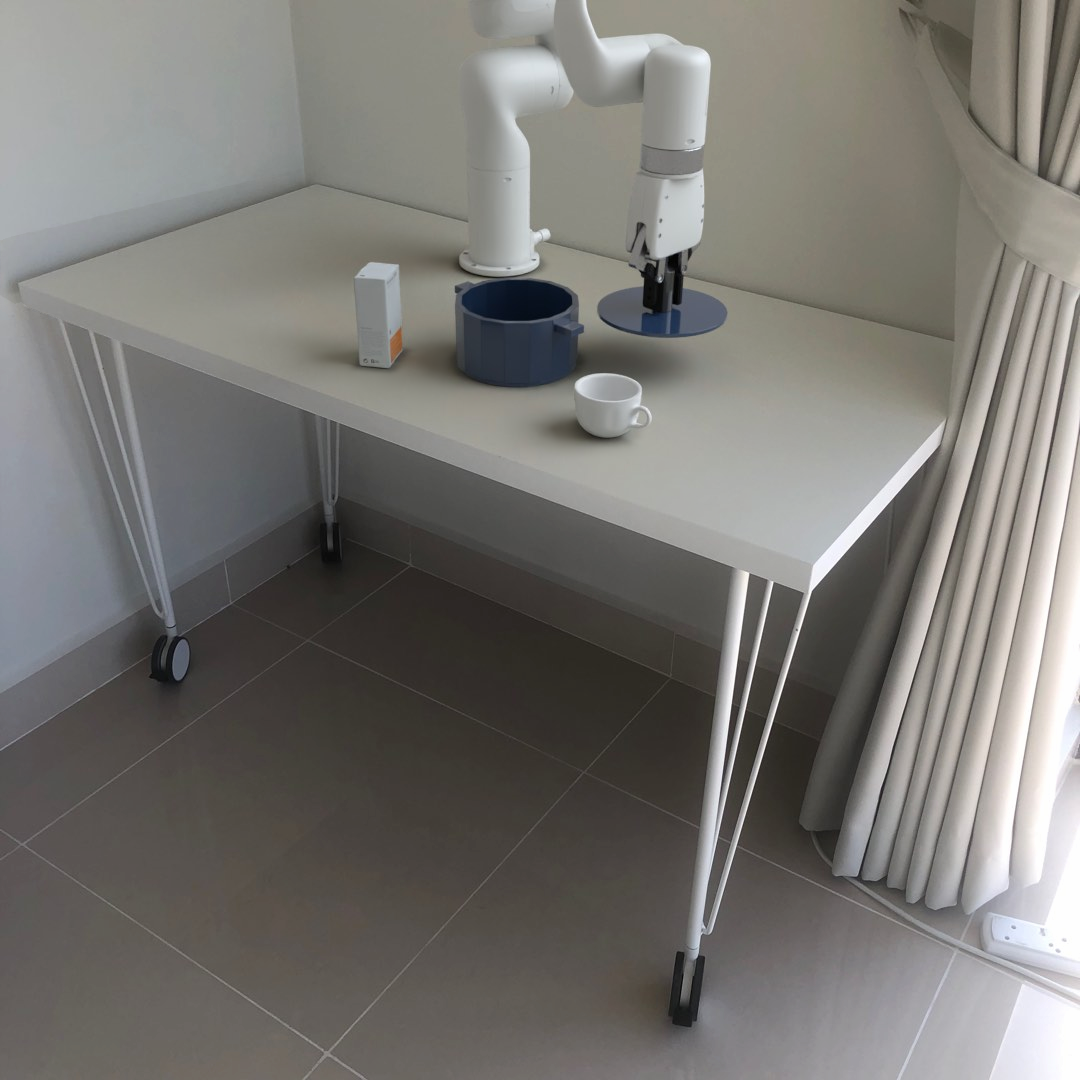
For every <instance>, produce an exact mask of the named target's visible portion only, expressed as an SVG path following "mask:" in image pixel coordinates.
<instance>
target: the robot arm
mask: <svg viewBox="0 0 1080 1080" xmlns="http://www.w3.org/2000/svg"><path fill="white" fill-rule="evenodd" d="M587 7H588V6H587V0H467V12H468V18H469V23H470V26H471V28H472V30H473V32H474V33H475V34H476V35H478V36H480V37H482V38H484V39H490V40H504V39H505V40H506V39H516V38H517V39H518V38H527V37H533V38H534V44H526V45H512V46H501V47H493V48H492V47H491V48H485V49H481V50H478V51H475V52H473V53H471V54H470V55H468V56H467V57H466V58H465V59H464V60H463V61H462V62H461V64H460V66H459V69H458V73H457V88H458V89H457V90H458V95H459V100H460V104H461V110H462V116H463V122H464V133H465V134H464V135H465V145H466V147H465V149H466V150H465V153H466V179H467V181H466V182H467V183H466V184H467V185H466V186H467V221H468V223H467V224H468V226H467V227H468V228H467V230H468V248H467V249H466V248H465V250H463V251H462V252H461V253H460V254H459V256H458V260H459V261H458V264H459V266H460V267H461V268H462V269H463V270H465V271H467V272H468V273H471V274H475V275H477V276H478V275H479V276H482V277H483V276H484V277H495V278H496V277H497V278H506V277H515V276H521V275H525V274H528V273H530V272H532V271H534V270H536V269H537V268H538V267H539V265H540V263H541V262H540V255H539V253H538V252H537V251H536V250H535V247H537V245H538V244H542V243H544V242H547V241H549V240H550V239H551V232H550V230H549V229H548V228H545V227H544V228H541V229H538V230H536V231H533V230H532V228H531V150H530V145H529V142H528V140H527V138H526V136H525V135H524V133H523V132H522V131H521V129H520V127H519V126H518V124H517V122H516V120H517V118H521V117H526V116H533V115H540V114H547V113H553V112H557V111H560V110H563V109H564V108H565V107H567V106H568V105H569V104H570V102H571V101H572V99H573V96H574V94H575V96H576V98H578V99H579V100H580V101H581V102H582V103H584V104H585V105H587V106H589V107H592V108H605V107H607V108H608V107H614V106H622V105H629V104H636V103H637V104H638V103H642V113H641V131H640V132H641V134H640V149H639V151H640V152H639V155H640V156H639V171H637V172H636V173H635V175H634V178H633V179H634V180H633V183H632V187H631V192H630V198H629V203H628V210H627V211H628V212H627V219H626V220H627V221H626V229H625V231H626V232H625V250H626V252H627V253H630V257H629V260H628V264H627V265H628V267H629V268H633V269H635V270H637V271H638V272H639V273H640V278H642V279H643V286H644V287H643V306H644V307H645V308H648V309H651V310H654V311H657V312H663V311H664V310H665V300H666V285H667V282H666V281H663V279H664V270H665V266H669V267H672V268H674V269H675V278H674V292H673V304H674V305H680V304H681V303H682V292H683V288H684V278H685V275H684V274H686V273H687V271H688V264H689V263H688V262H689V261H690V259H691V257H692V255H693V253H694V252H695V251H696V250H697V249H698V248H699V247H700V245H701V242H702V240H701V239H702V235H703V229H704V219H705V177H704V156H705V143H706V132H707V119H708V109H709V108H708V106H709V93H710V82H711V81H710V80H711V70H712V69H711V68H712V61H711V57H710V54H709V52H707V51H706V50H705V49H704V48H701V47H699V46H696V45H695V46H694V45H688V44H683V43H682V42H681V41H679V40H678V39H676V38H675V37H673V36H670V35H668V34H665V33H660V32H659V33H658V32H657V33H645V34H630V35H620V36H608V37H602V38H599V37H598V36H597V33H596V31H595V29H594V26H593V23H592V20H591V17H590V15H589V11H588V8H587ZM652 262H655V266H654V264H653V263H652Z"/></svg>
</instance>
